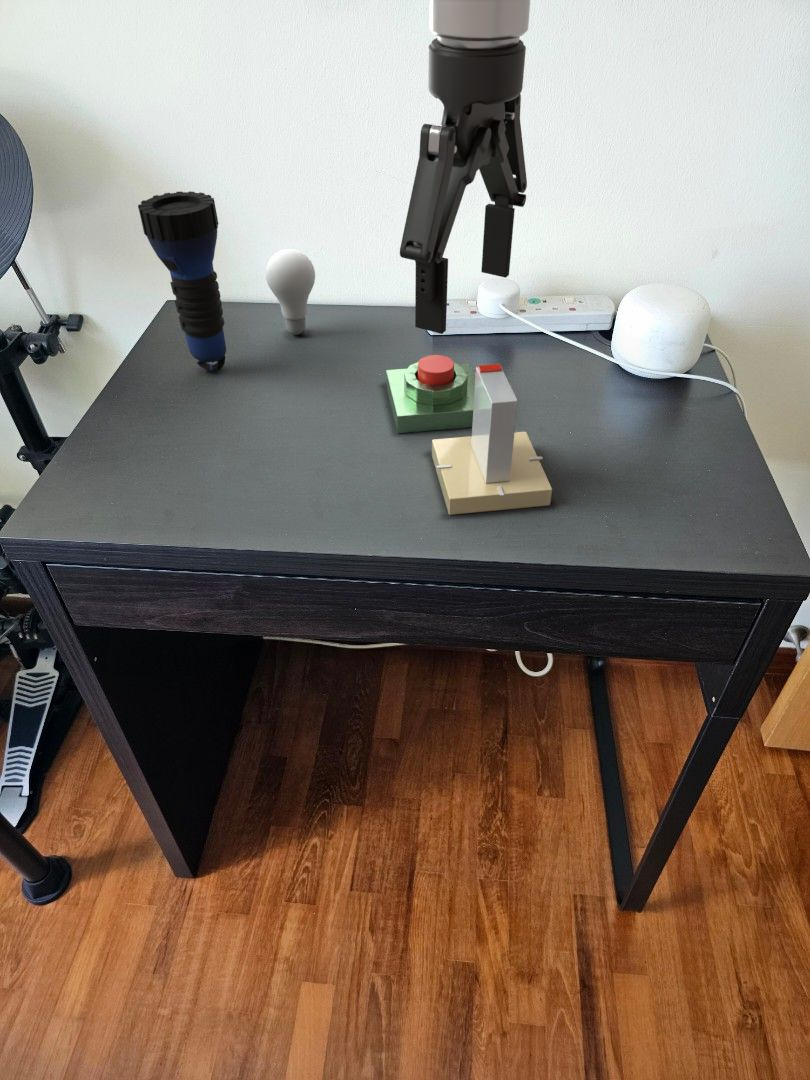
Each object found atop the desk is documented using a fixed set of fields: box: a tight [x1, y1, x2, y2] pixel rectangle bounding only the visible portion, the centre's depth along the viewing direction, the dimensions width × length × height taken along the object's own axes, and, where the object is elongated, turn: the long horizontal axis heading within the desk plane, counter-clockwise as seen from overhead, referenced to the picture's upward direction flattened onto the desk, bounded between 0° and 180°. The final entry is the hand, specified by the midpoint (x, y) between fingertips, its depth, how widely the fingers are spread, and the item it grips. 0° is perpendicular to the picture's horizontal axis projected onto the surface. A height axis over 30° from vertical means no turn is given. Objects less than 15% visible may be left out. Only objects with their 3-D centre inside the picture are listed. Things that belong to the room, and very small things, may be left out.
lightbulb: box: [265, 248, 316, 336], centre depth 100 cm, size 6×6×11 cm
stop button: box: [417, 354, 454, 386], centre depth 87 cm, size 4×4×2 cm
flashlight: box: [137, 190, 227, 372], centre depth 90 cm, size 8×8×20 cm
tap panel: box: [431, 431, 553, 516], centre depth 79 cm, size 11×11×2 cm
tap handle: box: [471, 363, 519, 483], centre depth 75 cm, size 6×2×9 cm, turn 9°
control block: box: [385, 361, 475, 434], centre depth 89 cm, size 10×10×4 cm
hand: (464, 300), depth 75 cm, fingers open, 13 cm apart
